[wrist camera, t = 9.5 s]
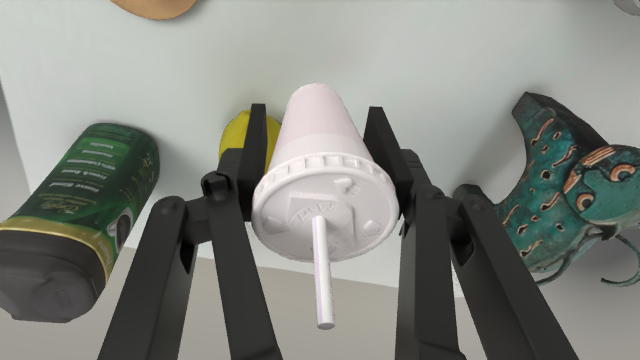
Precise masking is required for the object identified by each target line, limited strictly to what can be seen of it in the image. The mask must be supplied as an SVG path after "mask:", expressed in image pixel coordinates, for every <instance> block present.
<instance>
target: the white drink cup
mask: <svg viewBox="0 0 640 360" xmlns="http://www.w3.org/2000/svg"><path fill="white" fill-rule="evenodd" d="M252 208H253V209H252V215H251V223H252V227H253V230H254V232H255V234H256V236H257V237H258V239H259V240H260V241H261V242H262V243H263V244H264V245H265V246H266V247H267V248H269V249H270V250H272V251H273V252H275V253H277V254H279V255H281V256H284V257H286V258H289V259H292V260H297V261H301V262H310V263H314V269H315V289H316V309H317V327H318V328H319V329H322V330H328V329H332V328H334V327H335V317H334V306H333V295H332V286H331V274H330V263H329V262H338V261H342V260H347V259H351V258H354V257H357V256H359V255H362V254H364V253H366V252H368V251H370V250H372V249H373V248H375V247H376V246H378V245H379V244H381V243H382V242H383V241H384V240H385V239H386V238H387V237H388V236H389V235H390V234H391V232H392V231H393V229H394V228H395V226H396V224H397V221H398V217H399V204H398V200H397V197H396V192H395V187H394V185H393V183H392V181H391V179H390V177H389V175H388V174H387V173H386V172H385V171H384V170H383V169H382V168H381V167H380V166H378V165H377V164H376V163H374V161H373V159H372V157H371V155H370V153H369V151H368V150H367V148H366V146H365V144H364V142H363V140H362V138H361V136H360V134H359V132H358V130H357V128H356V126H355V125H354V123H353V121H352V119H351V117H350V115H349V113H348V111H347V109H346V107H345V105H344V103H343V101H342V100H341V98H340V96H339V94H338V93H337V92H336V91H335V90H334V89H333V88H331V87H329V86H327V85H324V84H319V83H313V84H307V85H304V86H302V87H300V88H299V89H297V90H296V91H295V92H294V93H293V94H292V96H291V97H290V99H289V102H288V105H287V109H286V112H285V115H284V119H283V122H282V125H281V129H280V132H279V135H278V139H277V142H276V145H275V149H274V152H273V155H272V159H271V162H270V165H269V168H268V171H267V174H266V175H265V176H263V178H262V179H261V181H260V183H259V184H258V186H257V187H256V189H255V191H254V195H253V200H252Z"/></svg>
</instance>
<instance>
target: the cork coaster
mask: <svg viewBox="0 0 640 360" xmlns="http://www.w3.org/2000/svg"><path fill="white" fill-rule="evenodd" d="M110 1H112V2H113V3H114V4H116V5H117V6H119V7H121V8H122V9H124V10H126V11H128V12H130V13H132V14H135V15H138V16H140V17H144V18H148V19H155V20H165V19H171V18H175V17H178V16H180V15H182V14H184V13H185V12H187V11H188V10H189V9H190V8H191V7H192V6H193V5H194V4H195V3H196V2H197V0H110Z"/></svg>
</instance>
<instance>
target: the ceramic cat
mask: <svg viewBox="0 0 640 360" xmlns="http://www.w3.org/2000/svg"><path fill="white" fill-rule="evenodd" d="M512 115H513V117H514V118H515V120H516V121H517V123H518V125H519V127H520V129H521V131H522V133H523V136H524V141H525V148H526V156H527V161H526V167H525V170H524V172H523V174H522V176H521V178H520V180H519V181H518V183H517V185H516V186H515V188H514V189H513V190H512V192H511V193H510V194H509V195H508V196H507V197H506V199H504V200H503V201H502V202H500V203H499V204H494V203H492V202H491V200H490V199H489V198H488V197H487V196H486V195H485V194H484V193H483V191H482V190H481V188H480V187H479V186H477V185H469V184H463V185H460V186H459V187H458V188H457V189H456V191H455V192H454V195H453V198H454V199H458V200H462V199H463V197H464V196H466V195H469V194H474V195H478V196H481V197H483V198H485V199H486V200H487V201H489V203H490V204H491V205H492V207H493V209H494V210H495V212H496V214H497V216H498V217H499V219H500V221H501V223H502V224H503V226H504V228H505V230H506V231H507V233H508V235H509V237H510V239H511V240H512V242H513V244H514V246H515V247H516V249H517V251H518V253H519V254H520V256H521V258H522V260H523V261H524V263H525V265H526V267H527V269H528V270H529V272H531V273H544V272H548V271H551V270H554V269H557V268H559V267H560V269H559V270H558V271H557V272H556V273H555V274H554V275H552V276H550V277H548V278H545V279H542V280H539V281H536V282H535V283H536V284H537V286H541V285H544V284H547V283H549V282H550V281H553V280H555V279H556V278H557V277H559V276H560V275H561V274H562V273H563V272H564V271H565V270H566V269H567V267H568V266H569V264H570V263H571V261H573V260H575V259H576V258H578V257H579V256H580V255H582V254H583V253H584V252H585V251H587V250H588V249H589V248H590V247H591V246H592V245H593V244H594V243H595V242H596V240H597V239H598V238H599V237H602V241H603V242H605V241H608V240H610V239H612V238H613V237H616V238H618V239H620V240H621V241H622V242H624V243H626V244H627V245H628V246H629V247H631V248H632V249H633V251H634V252H635V253H636V255H637V257H638V260H639V269H638V271H637V273H636V275H635V276H634V277H633V278H631V279H629V280H627V281H623V282H612V281H609V280H605V279H603V278H602V279H601V282H602V283H604V284H606V285H610V286H617V287H623V286H629V285H632V284H635V283H636V282H638V281H640V253H639V251H638V250H637V249H636V248H635V247H634V246H633V245H632V244H631V243H630V242H628V240H626V239H625V238H624V237H622V236H620V235H618V233H619V232H620V231H621V230H628V229H636V228H640V149H639V148H636V147H631V146H626V145H609V144H608V143H607V142H606V141H605V140H604V139H603V138H602V137H601V136H600V135H599V134H598V133H597V132H596V131H595V130H594V129H593V128H592V127H591V126H590V125H589V124H588V123H586V122H585V121H583V120H582V119H580V118H579V117H577V116H576V115H575V114H574V113H572V112H571V111H570V110H569V109H567V108H566V107H565V106H563V105H562V104H560V103H559V102H557V101H556V100H554V99H553V98H551V97H547V96H544V95H539V94H534V93H529V92H525V93H524V95H523V96H522V98H521V99H520V100H519V102H518V103H517V104H516V106H515V107H514V109H513V110H512Z"/></svg>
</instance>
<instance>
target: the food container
mask: <svg viewBox="0 0 640 360" xmlns="http://www.w3.org/2000/svg"><path fill="white" fill-rule="evenodd" d="M613 2H614V4H615V5H616V6H617V7H619V8H620V9H621V10H622V11H624V12H626V13H629V14H631V15H634V16H640V0H613Z"/></svg>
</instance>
